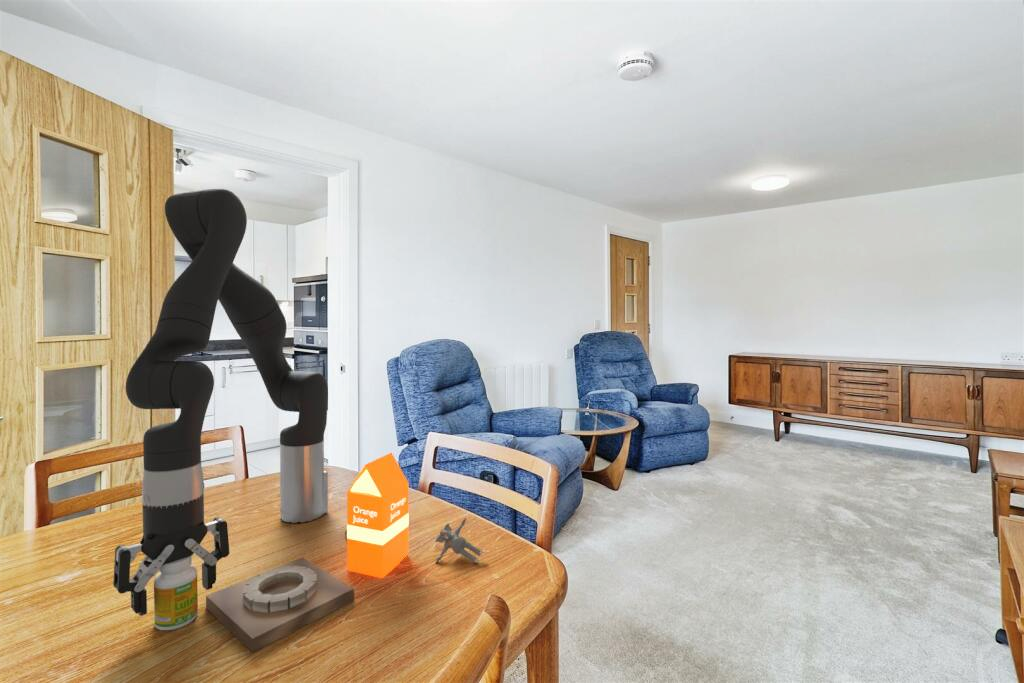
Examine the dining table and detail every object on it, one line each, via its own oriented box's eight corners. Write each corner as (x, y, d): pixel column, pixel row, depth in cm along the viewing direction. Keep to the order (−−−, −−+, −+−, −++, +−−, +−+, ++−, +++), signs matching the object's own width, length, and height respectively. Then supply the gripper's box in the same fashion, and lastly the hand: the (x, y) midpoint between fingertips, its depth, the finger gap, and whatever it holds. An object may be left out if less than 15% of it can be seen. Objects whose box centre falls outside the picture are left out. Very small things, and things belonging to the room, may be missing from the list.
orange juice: (409, 555, 95) (409, 454, 94) (382, 578, 86) (383, 467, 85) (374, 548, 97) (375, 449, 96) (346, 570, 89) (345, 462, 88)
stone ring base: (302, 567, 90) (302, 549, 89) (354, 600, 80) (354, 579, 80) (206, 607, 77) (205, 586, 77) (252, 652, 67) (252, 628, 67)
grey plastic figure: (463, 578, 88) (423, 551, 91) (465, 587, 92) (427, 561, 95) (493, 530, 93) (454, 506, 96) (494, 540, 98) (457, 517, 101)
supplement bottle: (176, 634, 71) (174, 569, 70) (145, 628, 72) (143, 564, 71) (206, 612, 76) (205, 551, 75) (177, 607, 77) (176, 547, 77)
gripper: (215, 477, 81) (217, 572, 82) (106, 501, 70) (109, 612, 70) (235, 487, 76) (236, 588, 77) (121, 516, 65) (124, 634, 66)
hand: (175, 599), depth 74 cm, fingers open, 8 cm apart
